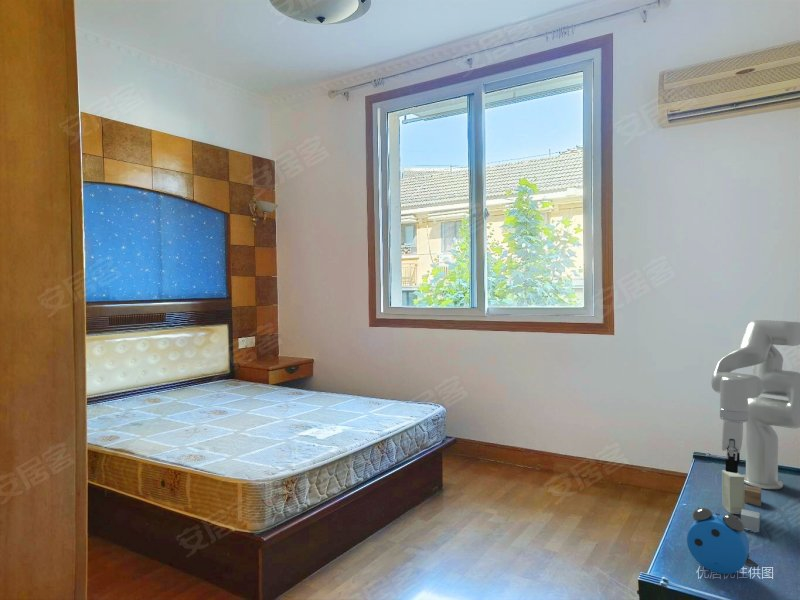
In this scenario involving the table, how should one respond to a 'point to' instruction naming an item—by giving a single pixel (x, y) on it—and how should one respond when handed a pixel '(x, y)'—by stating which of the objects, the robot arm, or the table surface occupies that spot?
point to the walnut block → (752, 495)
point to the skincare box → (732, 492)
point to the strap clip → (750, 562)
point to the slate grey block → (750, 519)
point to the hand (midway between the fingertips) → (732, 467)
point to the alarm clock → (718, 541)
